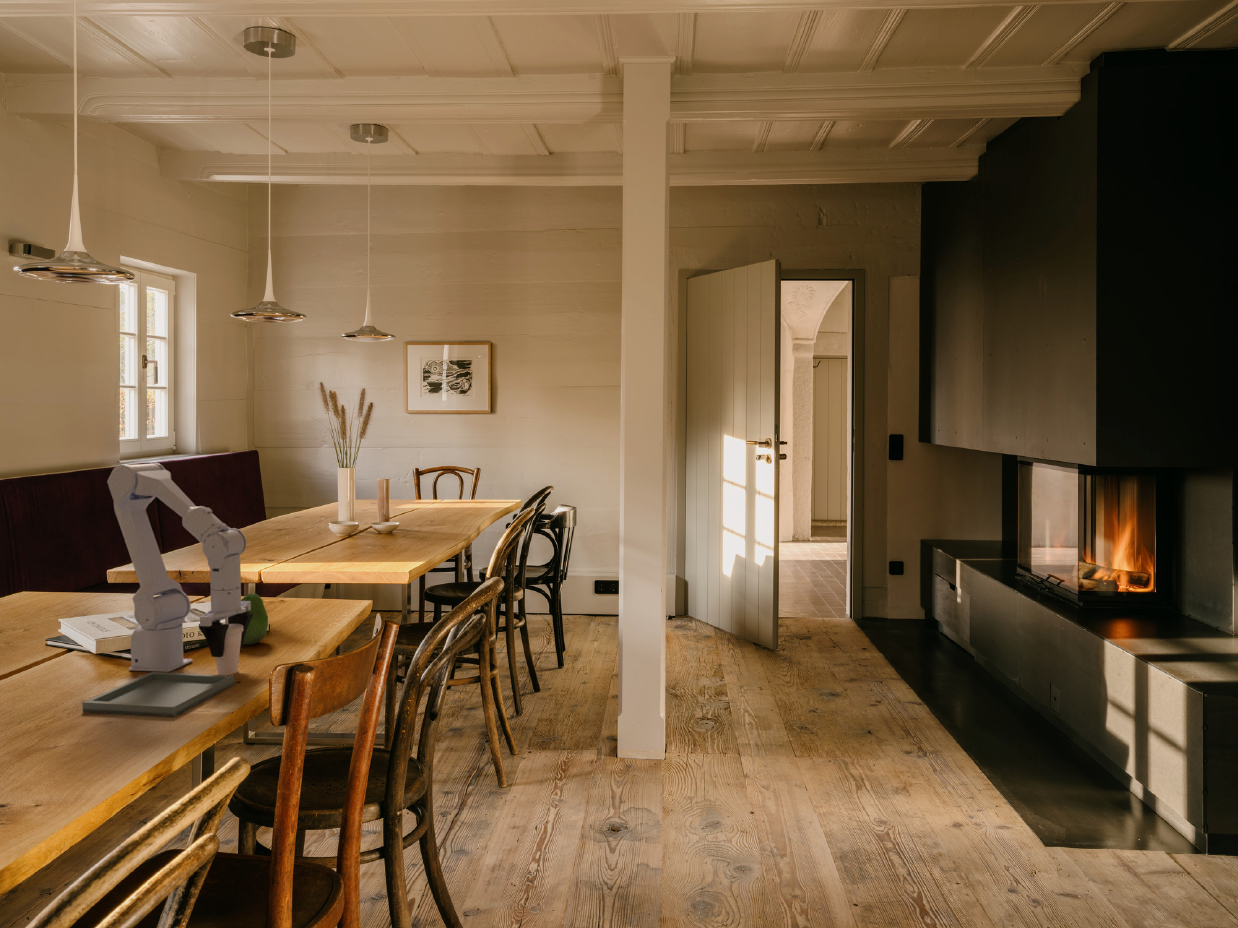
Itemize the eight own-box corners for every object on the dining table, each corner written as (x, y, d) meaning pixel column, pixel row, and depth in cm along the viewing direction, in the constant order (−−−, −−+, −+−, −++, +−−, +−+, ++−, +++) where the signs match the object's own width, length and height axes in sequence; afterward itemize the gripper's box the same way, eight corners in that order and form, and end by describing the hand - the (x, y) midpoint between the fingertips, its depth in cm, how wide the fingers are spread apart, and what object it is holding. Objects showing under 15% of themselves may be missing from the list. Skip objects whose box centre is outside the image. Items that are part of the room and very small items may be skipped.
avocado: (275, 639, 196) (274, 590, 195) (257, 648, 188) (256, 597, 187) (243, 638, 196) (242, 590, 196) (224, 647, 189) (223, 597, 188)
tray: (82, 711, 147) (82, 702, 147) (152, 680, 165) (152, 671, 165) (173, 716, 145) (173, 707, 145) (234, 684, 163) (234, 675, 163)
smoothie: (211, 678, 166) (209, 611, 165) (210, 670, 172) (208, 605, 171) (245, 674, 169) (243, 608, 168) (243, 666, 175) (242, 602, 174)
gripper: (222, 595, 162) (223, 662, 162) (263, 581, 176) (264, 643, 177) (189, 594, 163) (191, 661, 163) (233, 580, 177) (234, 641, 178)
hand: (227, 651), depth 170 cm, fingers closed on smoothie, 6 cm apart
